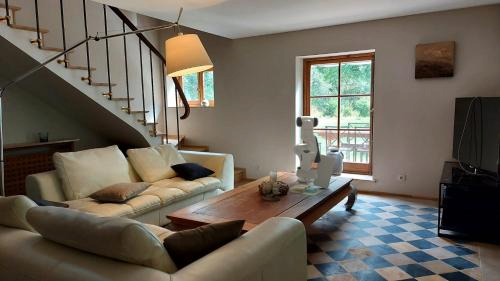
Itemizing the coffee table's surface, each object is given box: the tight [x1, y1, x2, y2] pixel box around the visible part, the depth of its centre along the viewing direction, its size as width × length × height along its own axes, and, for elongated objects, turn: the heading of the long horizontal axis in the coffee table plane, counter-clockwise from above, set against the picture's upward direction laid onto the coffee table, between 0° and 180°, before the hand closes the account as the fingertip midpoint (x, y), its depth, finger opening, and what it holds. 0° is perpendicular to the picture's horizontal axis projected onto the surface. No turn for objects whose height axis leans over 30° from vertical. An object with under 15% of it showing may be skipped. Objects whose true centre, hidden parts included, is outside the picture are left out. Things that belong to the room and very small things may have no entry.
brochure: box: [312, 153, 336, 190], centre depth 329 cm, size 14×6×30 cm, turn 85°
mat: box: [302, 189, 325, 197], centre depth 316 cm, size 20×12×1 cm, turn 145°
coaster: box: [305, 186, 318, 193], centre depth 317 cm, size 8×8×3 cm
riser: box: [289, 183, 311, 195], centre depth 323 cm, size 18×12×4 cm, turn 144°
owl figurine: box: [261, 179, 281, 202], centre depth 297 cm, size 18×12×17 cm, turn 52°
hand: (306, 182), depth 319 cm, fingers closed
